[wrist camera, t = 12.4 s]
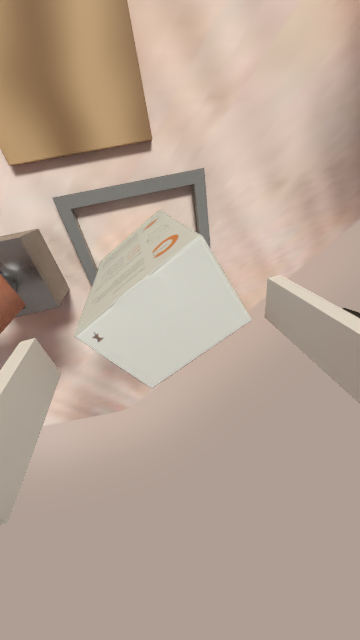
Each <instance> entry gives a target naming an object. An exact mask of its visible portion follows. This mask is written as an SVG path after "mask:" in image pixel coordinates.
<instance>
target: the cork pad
mask: <svg viewBox="0 0 360 640" xmlns="http://www.w3.org/2000/svg"><path fill="white" fill-rule="evenodd" d="M146 141H152V135H151V130H150V124H149V119H148V113H147V108H146V102H145V97H144V91H143V86H142V80H141V75H140V69H139V64H138V58H137V53H136V47H135V42H134V36H133V31H132V25H131V20H130V14H129V9H128V3H127V0H0V148H1V150H2V152H3V154H4V156H5V158H6V160H7V162H8V164H9V165H11V166H14V165H20V164H25V163H31V162H36V161H42V160H47V159H53V158H58V157H64V156H69V155H75V154H80V153H86V152H91V151H97V150H102V149H108V148H113V147H119V146H124V145H130V144H135V143H141V142H146Z"/></svg>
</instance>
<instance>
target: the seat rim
mask: <svg viewBox="0 0 360 640" xmlns="http://www.w3.org/2000/svg"><path fill="white" fill-rule="evenodd" d="M191 184H192V186H193V196H194V205H195V214H196V223H197V232H198V234H200V235H202V236H203V237H204V239H205V241H206V242H207V244H208V246H209V247H210V237H209V224H208V211H207V198H206V185H205V173H204V168H202V169H197V170H192V171H187V172H182V173H176V174H171V175H166V176H161V177H156V178H151V179H146V180H141V181H136V182H131V183H126V184H121V185H116V186H111V187H105V188H100V189H95V190H90V191H85V192H80V193H75V194H70V195H65V196H60V197H55V198H53V200H54V203H55V205H56V207H57V209H58V212H59V214H60V216H61V218H62V221H63V223H64V225H65V227H66V230H67V232H68V234H69V236H70V238H71V241H72V243H73V245H74V247H75V250H76V252H77V254H78V256H79V259H80V261H81V263H82V265H83V268H84V270H85V272H86V274H87V277H88V279H89V281H90V283H91V286H93V283H94V280H95V277H96V275H97V272H98V270H97V267H96V265H95V262H94V260H93V257H92V255H91V252H90V250H89V247H88V245H87V243H86V240H85V238H84V235H83V233H82V230H81V228H80V225H79V223H78V221H77V218H76V216H75V213H74V211H73V208H78V207H83V206H88V205H93V204H98V203H103V202H108V201H113V200H118V199H123V198H127V197H132V196H137V195H142V194H147V193H152V192H157V191H162V190H167V189H172V188H177V187H182V186H187V185H191Z"/></svg>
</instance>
